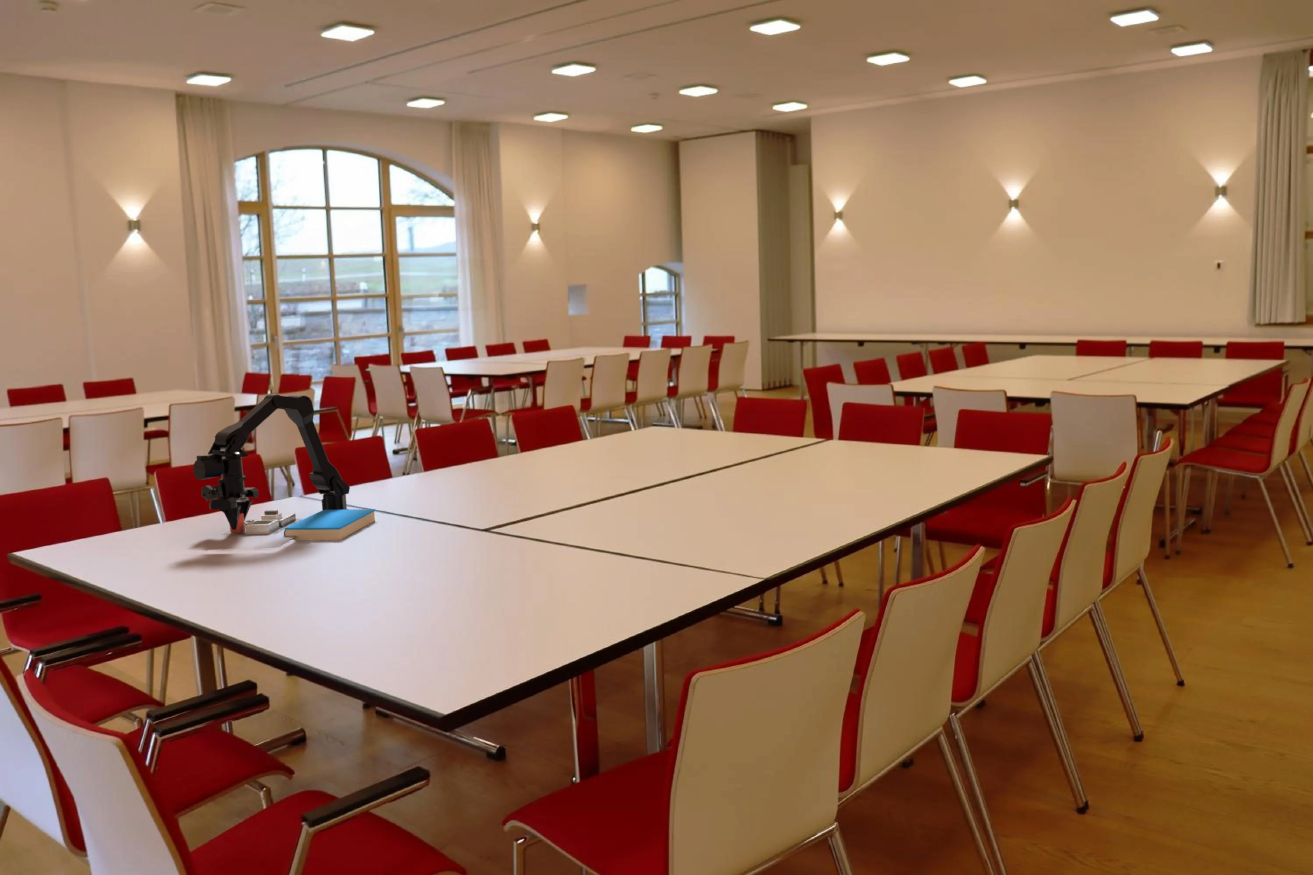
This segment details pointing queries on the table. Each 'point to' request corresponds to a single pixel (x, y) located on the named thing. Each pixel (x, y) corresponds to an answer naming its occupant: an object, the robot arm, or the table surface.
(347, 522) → the book
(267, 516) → the breaker
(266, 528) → the panel
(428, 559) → the table surface
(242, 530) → the cap
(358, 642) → the table surface
